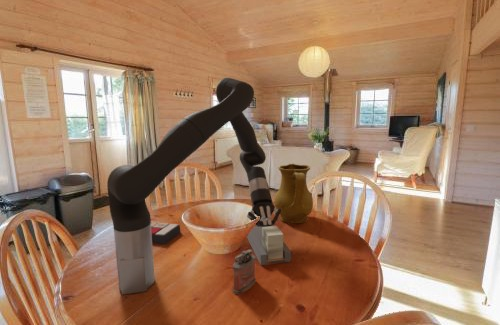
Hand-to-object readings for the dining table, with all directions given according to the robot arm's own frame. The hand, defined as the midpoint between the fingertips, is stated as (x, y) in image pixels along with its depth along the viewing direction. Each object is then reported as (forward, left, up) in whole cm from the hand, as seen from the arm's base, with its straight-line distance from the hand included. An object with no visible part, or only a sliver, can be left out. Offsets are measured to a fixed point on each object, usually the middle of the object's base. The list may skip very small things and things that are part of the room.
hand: (269, 236), depth 92 cm
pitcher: (+26, -19, -5) cm, 32 cm away
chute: (+6, 0, -5) cm, 8 cm away
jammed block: (-4, 0, -4) cm, 6 cm away
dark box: (+22, +40, -6) cm, 46 cm away
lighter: (-17, +12, -5) cm, 22 cm away
